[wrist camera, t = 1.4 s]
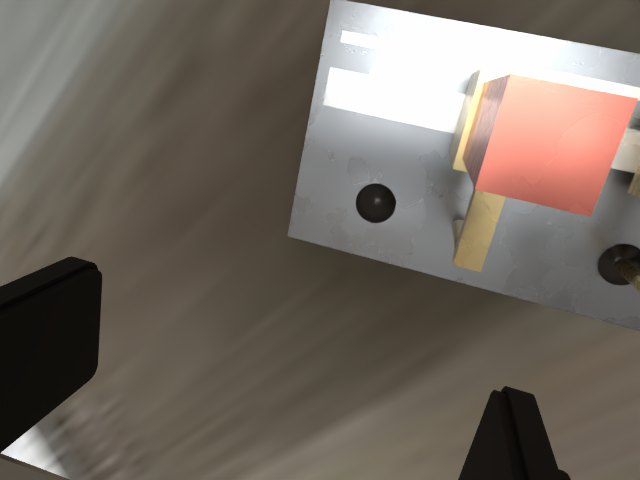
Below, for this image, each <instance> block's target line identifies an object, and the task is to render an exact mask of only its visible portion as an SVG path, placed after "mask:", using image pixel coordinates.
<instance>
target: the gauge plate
mask: <svg viewBox="0 0 640 480" xmlns="http://www.w3.org/2000/svg"><path fill="white" fill-rule="evenodd" d="M482 67H484V68H489V69H494V70H499V71H504V72H509V73H514V74H520V75H525V76H530V77H535V78H540V79H545V80H550V81H555V82H560V83H566V84H571V85H576V86H577V87H581V88H587V89H592V90H597V91H602V92H607V93H612V94H617V95H622V96H627V97H633V98H638V101H637V103H636V106H635V108H634V111H633V113H632V116H631V118H630V121H629V123H628V125H627V128H626V130H625V133H624V135H623V138H622V140H621V143H620V145H619V148H618V150H617V153H616V155H615V158H614V160H613V163H612V165H611V168H610V170H609V173H608V175H607V178H606V180H605V183H604V185H603V188H602V190H601V193H600V195H599V198H598V200H597V203H596V205H595V208H594V210H593V213H592V215H591V217H590V216H585V215H581V214H577V213H573V212H568V211H564V210H560V209H556V208H551V207H547V206H543V205H539V204H534V203H530V202H526V201H522V200H518V199H513V198H509V197H506V198H505V201H504V204H503V207H502V210H501V213H500V216H499V219H498V222H497V225H496V228H495V231H494V234H493V237H492V240H491V243H490V246H489V249H488V252H487V255H486V258H485V261H484V264H483V267H482V270H481V272H478V271H474V270H470V269H467V268H462V267H459V266H455V265H453V261H452V257H453V253H454V250H455V246H454V238H453V229H452V225H453V223H454V222H455V221H456V220H463V221H464V218H465V215H466V211H467V208H468V205H469V202H470V198H471V195H472V192H473V189H474V187H473V184H472V182H471V179H470V177H469V174H468V172H464V171H459V170H455V169H452V164H451V160H450V155H449V152H450V148H451V145H452V141H453V138H454V134H455V131H456V127H457V124H458V120H459V117H460V113H461V110H462V106H463V103H464V99H465V95H466V92H467V88H468V85H469V81H470V78H471V74H473V73H474V72H476V71H477V70H479V69H480V68H482ZM287 236H289V237H292V238H296V239H300V240H304V241H307V242H311V243H315V244H318V245H322V246H326V247H330V248H333V249H337V250H341V251H345V252H348V253H352V254H356V255H359V256H363V257H367V258H371V259H374V260H378V261H382V262H386V263H389V264H393V265H397V266H400V267H404V268H408V269H412V270H415V271H419V272H423V273H427V274H430V275H434V276H438V277H441V278H445V279H449V280H453V281H456V282H460V283H464V284H468V285H471V286H475V287H479V288H482V289H486V290H490V291H494V292H497V293H501V294H505V295H509V296H512V297H516V298H520V299H523V300H527V301H531V302H535V303H538V304H542V305H546V306H550V307H553V308H557V309H561V310H564V311H568V312H572V313H576V314H579V315H583V316H587V317H591V318H594V319H598V320H602V321H605V322H609V323H613V324H617V325H620V326H624V327H628V328H632V329H635V330H639V331H640V54H637V53H631V52H626V51H620V50H615V49H609V48H604V47H598V46H593V45H587V44H582V43H576V42H571V41H565V40H560V39H554V38H549V37H543V36H538V35H532V34H527V33H521V32H516V31H510V30H505V29H499V28H494V27H488V26H483V25H477V24H472V23H466V22H461V21H455V20H450V19H444V18H438V17H433V16H427V15H422V14H416V13H411V12H405V11H400V10H394V9H389V8H383V7H378V6H372V5H367V4H361V3H356V2H350V1H345V0H331V1H330V7H329V12H328V18H327V23H326V29H325V34H324V39H323V45H322V50H321V56H320V61H319V67H318V72H317V78H316V83H315V88H314V94H313V99H312V105H311V110H310V116H309V121H308V126H307V132H306V137H305V143H304V148H303V154H302V159H301V165H300V170H299V175H298V181H297V186H296V192H295V197H294V203H293V208H292V214H291V219H290V224H289V230H288V235H287Z"/></svg>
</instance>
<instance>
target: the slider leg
mask: <svg viewBox="0 0 640 480" xmlns="http://www.w3.org/2000/svg"><path fill="white" fill-rule="evenodd" d="M637 101H638V98H633V97H627V96H622V95H617V94H612V93H607V92H602V91H597V90H592V89H587V88H581V87H577V86H576V85H571V84H566V83H560V82H555V81H550V80H545V79H540V78H535V77H530V76H525V75H520V74H514V73H509V72H504V71H499V70H494V69H489V68H484V67H482V68H480V69H479V70H477V71H476V72H474V73H473V74H471V78H470V81H469V85H468V88H467V92H466V95H465V99H464V103H463V106H462V110H461V113H460V117H459V120H458V124H457V127H456V131H455V134H454V138H453V141H452V145H451V148H450V152H449V155H450V160H451V164H452V169H455V170H459V171H464V172H468V174H469V177H470V179H471V182H472V184H473V187H474V189H473V192H472V195H471V198H470V202H469V205H468V208H467V211H466V215H465V218H464V221H463V220H456V221H455V222H454V223H453V225H452V229H453V238H454V246H455V250H454V253H453V257H452V261H453V265H455V266H459V267H462V268H467V269H470V270H474V271H478V272H481V270H482V267H483V264H484V261H485V258H486V255H487V252H488V249H489V246H490V243H491V240H492V237H493V234H494V231H495V228H496V225H497V222H498V219H499V216H500V213H501V210H502V207H503V204H504V201H505V198H506V197H509V198H513V199H518V200H522V201H526V202H530V203H534V204H539V205H543V206H547V207H551V208H556V209H560V210H564V211H568V212H573V213H577V214H581V215H585V216H590V217H591V215H592V213H593V210H594V208H595V205H596V203H597V200H598V198H599V195H600V193H601V190H602V188H603V185H604V183H605V180H606V178H607V175H608V173H609V170H610V168H611V165H612V163H613V160H614V158H615V155H616V153H617V150H618V148H619V145H620V143H621V140H622V138H623V135H624V133H625V130H626V128H627V125H628V123H629V121H630V118H631V116H632V113H633V111H634V108H635V106H636V103H637Z"/></svg>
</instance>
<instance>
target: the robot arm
mask: <svg viewBox="0 0 640 480" xmlns="http://www.w3.org/2000/svg"><path fill="white" fill-rule="evenodd" d="M101 292H102V274H101V272H100V271H98V268H97V265H96V264H95V263H92V262H89V261H85V260H82V259H79V258H75V257H68V258H65V259H63V260H61V261H59V262H56V263H54V264H52V265H49V266H47V267H45V268H42V269H40V270H38V271H36V272H33V273H31V274H29V275H26V276H24V277H22V278H19V279H17V280H15V281H12V282H10V283H8V284H6V285H3V286H1V287H0V480H69V479H67V478H64V477H62V476H59V475H56V474H54V473H51V472H48V471H46V470H43V469H41V468H38V467H35V466H33V465H30V464H27V463H25V462H22V461H19V460H17V459H14V458H11V457H9V456H6V455H3V454H1V452H2V451H3V450H4V449H6V448H7V447H8V446H9V445H11V444H12V443H13V442H14V441H16V440H17V439H18V438H19V437H20V436H22V435H23V434H24V433H25V432H27V431H28V430H29V429H30V428H31V427H33V426H34V425H35V424H36V423H38V422H39V421H40V420H41V419H43V418H44V417H45V416H46V415H47V414H49V413H50V412H51V411H52V410H54V409H55V408H56V407H57V406H59V405H60V404H61V403H62V402H63V401H65V400H66V399H67V398H68V397H70V396H71V395H72V394H73V393H74V392H76V391H77V390H78V389H79V388H81V387H82V386H83V385H84V384H86V383H87V382H88V381H89V380H90V379H91V378H92V377H93V376H94V374H95V372H96V370H97V366H98V351H99V331H100V311H101ZM458 480H571V479H570V477H569V475H568V474H567V473H566V472H564V471H562V470H559V469H558V467H557V464H556V461H555V458H554V455H553V451H552V448H551V445H550V442H549V439H548V436H547V433H546V430H545V427H544V424H543V421H542V418H541V415H540V411H539V408H538V405H537V402H536V399H535V397H534V395H533V394H530V393H527V392H523V391H520V390H517V389H513V388H510V387H507V386H505V387H504V388H503V389H502V390H501V392H500V391H496V390H493V391H492V393H491V395H490V397H489V400H488V402H487V405H486V408H485V410H484V413H483V416H482V418H481V421H480V424H479V426H478V429H477V432H476V434H475V437H474V440H473V442H472V445H471V447H470V450H469V453H468V455H467V458H466V461H465V463H464V466H463V469H462V471H461V474H460V477H459V479H458Z"/></svg>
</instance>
